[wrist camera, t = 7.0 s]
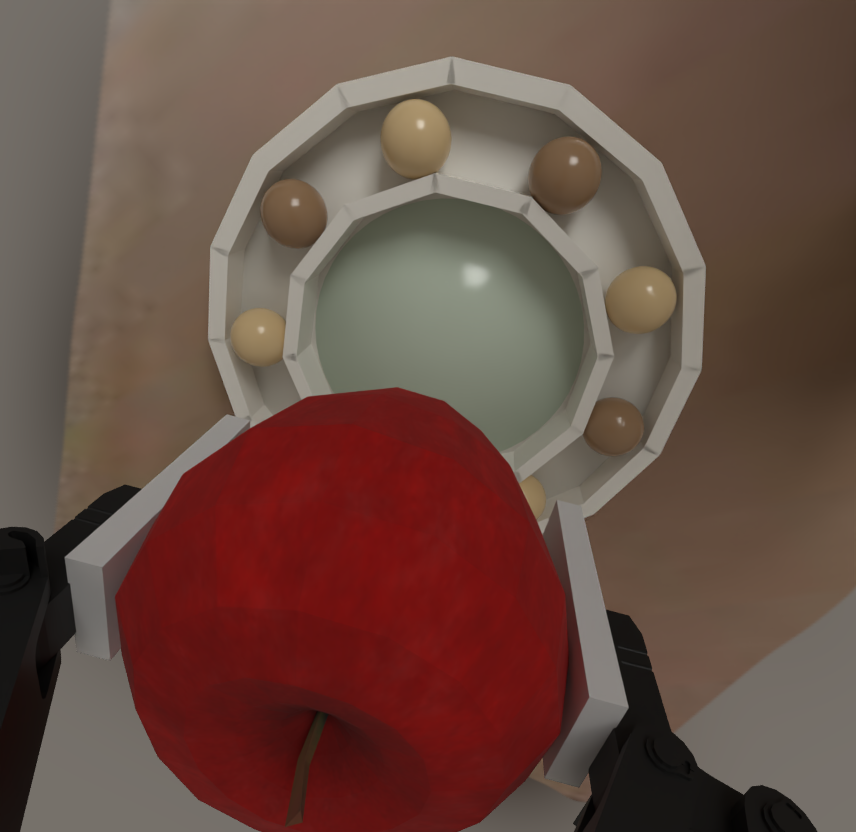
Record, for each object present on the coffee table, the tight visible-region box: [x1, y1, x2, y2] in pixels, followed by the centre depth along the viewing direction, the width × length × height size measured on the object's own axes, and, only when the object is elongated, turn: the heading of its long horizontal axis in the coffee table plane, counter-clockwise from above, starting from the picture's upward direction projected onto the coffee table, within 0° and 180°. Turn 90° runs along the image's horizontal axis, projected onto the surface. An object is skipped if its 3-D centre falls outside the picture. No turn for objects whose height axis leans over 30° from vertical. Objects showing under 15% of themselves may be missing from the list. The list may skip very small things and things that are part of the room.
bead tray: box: [208, 57, 706, 535], centre depth 29 cm, size 27×27×4 cm
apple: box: [115, 387, 569, 832], centre depth 13 cm, size 10×10×11 cm
